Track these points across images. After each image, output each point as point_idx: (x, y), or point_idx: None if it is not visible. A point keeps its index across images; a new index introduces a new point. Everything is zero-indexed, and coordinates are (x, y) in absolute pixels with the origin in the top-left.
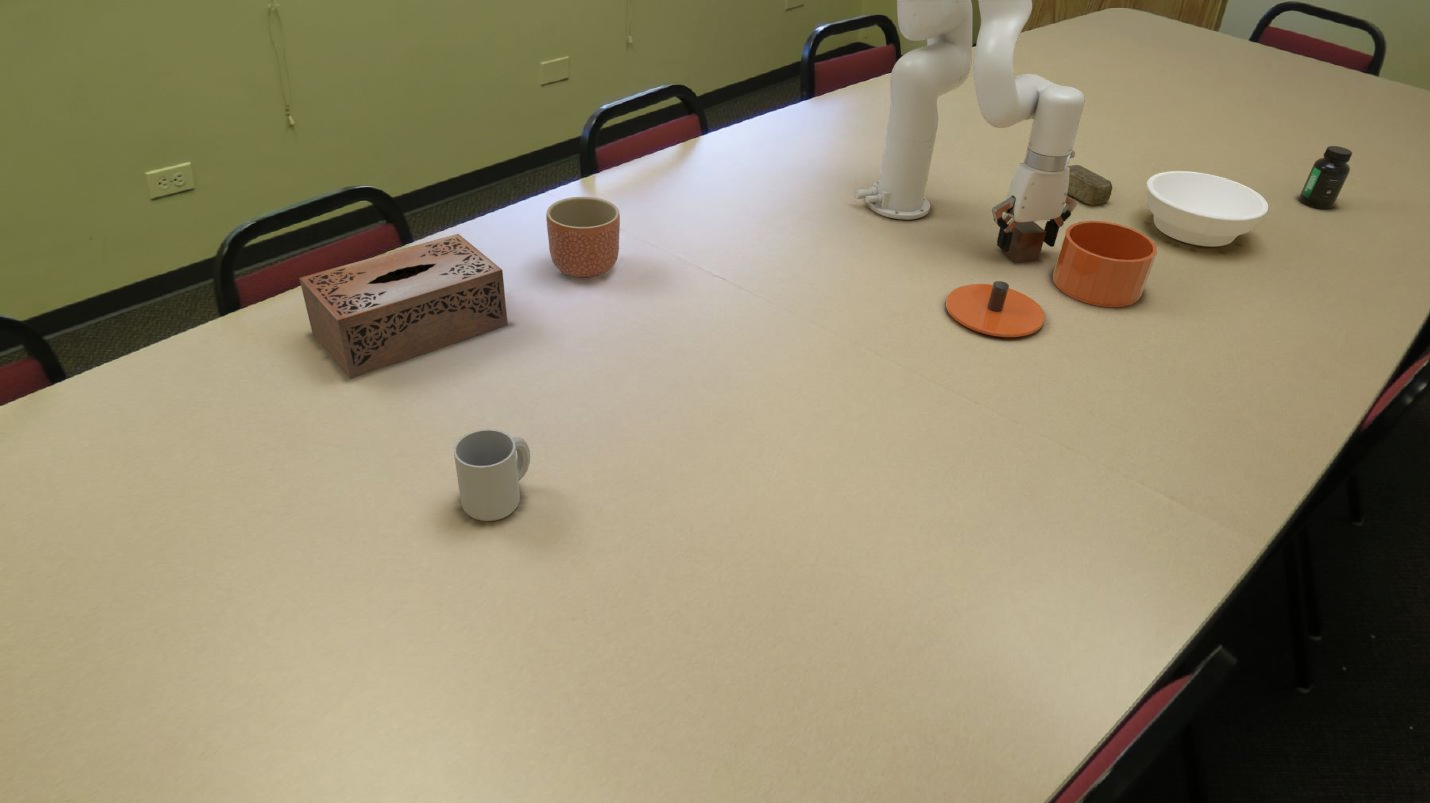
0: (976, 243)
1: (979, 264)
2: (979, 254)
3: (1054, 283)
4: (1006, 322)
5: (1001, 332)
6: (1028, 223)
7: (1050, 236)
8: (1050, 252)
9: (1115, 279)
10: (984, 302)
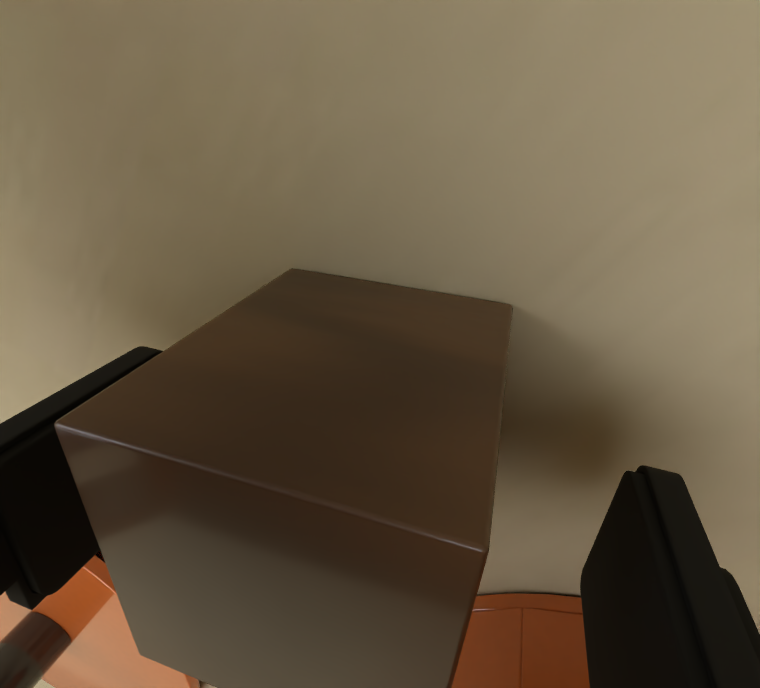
0: (141, 69)
1: (92, 357)
2: (119, 255)
3: None
4: (67, 672)
5: (47, 680)
6: (328, 584)
7: (601, 651)
8: (698, 444)
9: None
10: None
